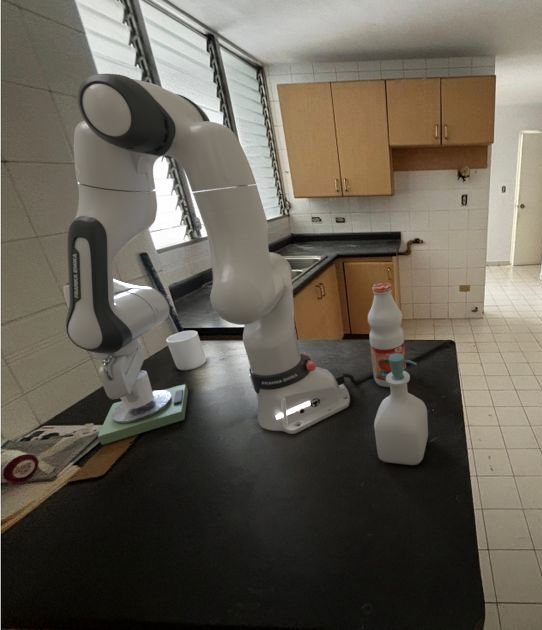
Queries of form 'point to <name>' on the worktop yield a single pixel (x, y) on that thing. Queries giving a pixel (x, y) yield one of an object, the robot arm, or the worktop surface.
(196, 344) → the cup
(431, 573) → the worktop surface
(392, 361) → the soap bottle
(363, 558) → the worktop surface
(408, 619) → the worktop surface
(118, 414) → the scale pan
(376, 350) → the fruit juice
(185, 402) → the scale
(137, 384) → the white cylindrical container
